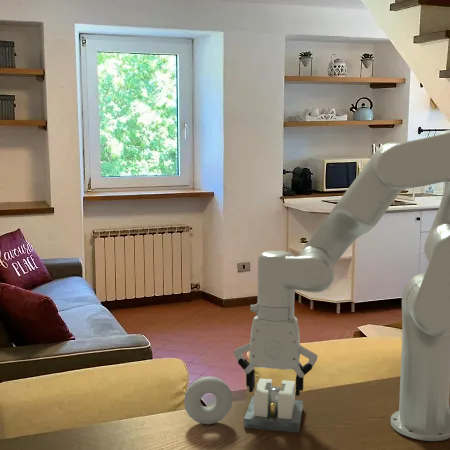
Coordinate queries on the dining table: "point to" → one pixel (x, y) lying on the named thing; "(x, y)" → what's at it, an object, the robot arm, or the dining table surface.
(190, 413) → the donut
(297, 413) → the post base
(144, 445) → the dining table surface
